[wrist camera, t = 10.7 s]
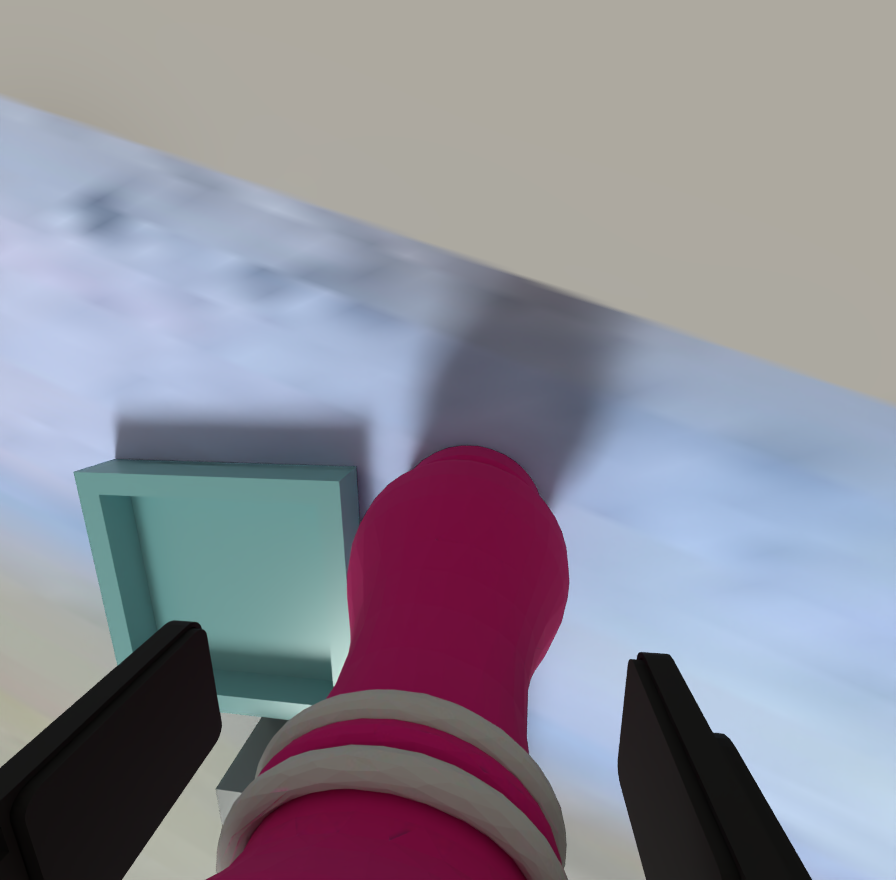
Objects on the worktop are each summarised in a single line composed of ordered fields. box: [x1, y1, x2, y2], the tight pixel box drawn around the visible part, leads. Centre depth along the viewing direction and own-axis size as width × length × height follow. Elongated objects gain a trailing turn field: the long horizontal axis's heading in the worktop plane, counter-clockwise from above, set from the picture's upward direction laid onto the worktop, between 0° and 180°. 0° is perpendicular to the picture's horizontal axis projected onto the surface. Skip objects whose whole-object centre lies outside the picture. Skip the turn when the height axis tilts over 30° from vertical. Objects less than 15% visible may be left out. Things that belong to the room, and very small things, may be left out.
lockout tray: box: [74, 459, 360, 720], centre depth 20 cm, size 12×12×2 cm
